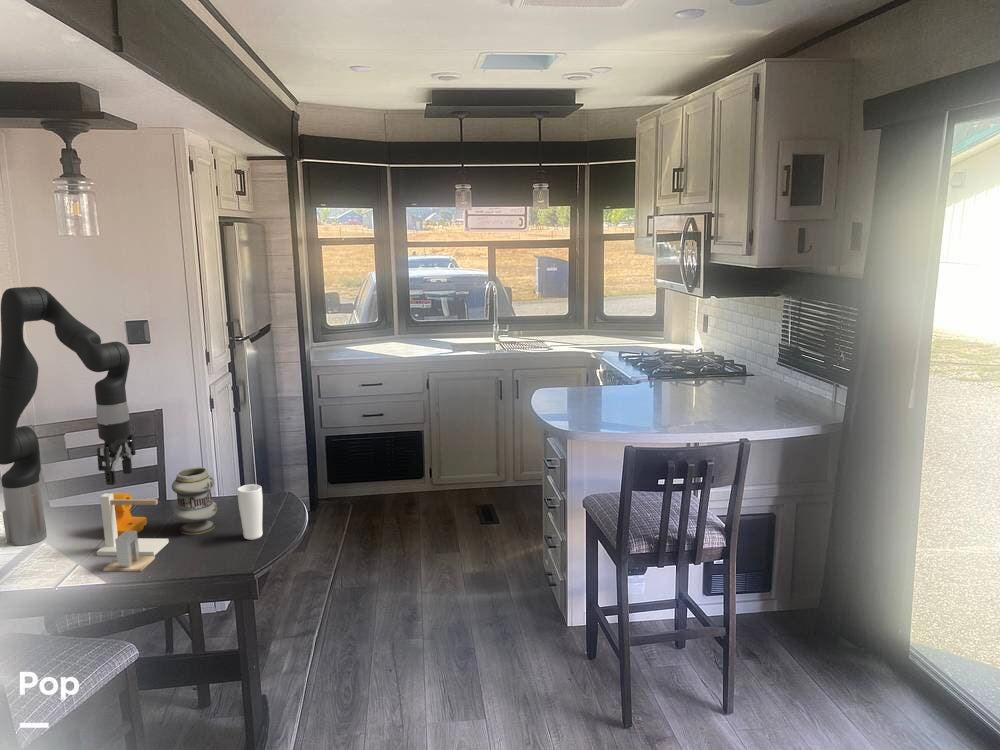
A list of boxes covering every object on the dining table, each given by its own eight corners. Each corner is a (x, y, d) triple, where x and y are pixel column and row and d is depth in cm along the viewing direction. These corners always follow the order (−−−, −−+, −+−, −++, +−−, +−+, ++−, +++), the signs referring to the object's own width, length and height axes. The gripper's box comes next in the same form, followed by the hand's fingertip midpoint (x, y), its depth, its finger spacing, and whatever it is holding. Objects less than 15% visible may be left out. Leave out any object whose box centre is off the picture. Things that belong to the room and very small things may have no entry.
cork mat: (103, 571, 204) (103, 569, 204) (119, 558, 212) (118, 556, 212) (140, 571, 204) (140, 569, 204) (155, 558, 212) (154, 556, 211)
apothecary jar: (170, 527, 233) (164, 470, 229) (209, 517, 240) (204, 462, 237) (184, 539, 224) (179, 480, 220) (225, 528, 231) (220, 471, 228)
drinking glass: (255, 542, 221) (252, 493, 218) (236, 539, 223) (232, 490, 220) (270, 533, 228) (266, 485, 225) (250, 530, 230) (247, 482, 227)
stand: (97, 555, 213) (90, 500, 210) (113, 542, 222) (108, 489, 219) (154, 555, 213) (148, 501, 210) (168, 542, 222) (163, 489, 219)
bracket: (128, 539, 224) (124, 500, 222) (104, 539, 225) (100, 499, 222) (148, 525, 235) (144, 487, 232) (125, 524, 235) (121, 487, 233)
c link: (118, 567, 205) (115, 539, 203) (128, 558, 210) (125, 530, 209) (129, 567, 205) (126, 539, 203) (139, 558, 210) (136, 530, 209)
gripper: (113, 412, 207) (119, 470, 210) (83, 426, 193) (90, 488, 196) (141, 412, 207) (146, 470, 210) (113, 426, 193) (119, 488, 196)
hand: (119, 478), depth 203 cm, fingers open, 8 cm apart
